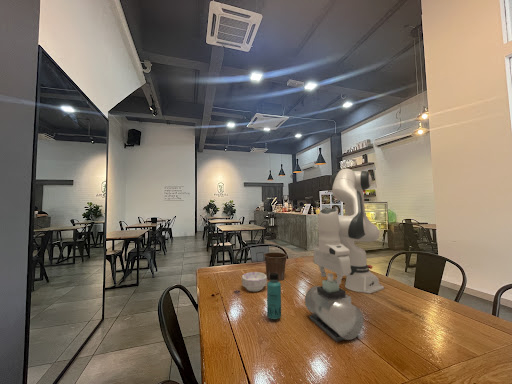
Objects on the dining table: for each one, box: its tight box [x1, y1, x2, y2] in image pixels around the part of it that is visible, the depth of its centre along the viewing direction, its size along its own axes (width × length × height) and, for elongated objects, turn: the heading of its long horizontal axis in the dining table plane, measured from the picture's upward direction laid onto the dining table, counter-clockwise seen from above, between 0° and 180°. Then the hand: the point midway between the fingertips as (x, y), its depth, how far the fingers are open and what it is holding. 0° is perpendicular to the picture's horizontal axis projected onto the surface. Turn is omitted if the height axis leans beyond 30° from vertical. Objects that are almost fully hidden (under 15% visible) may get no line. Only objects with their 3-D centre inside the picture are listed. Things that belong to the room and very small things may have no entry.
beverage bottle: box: [266, 273, 282, 320], centre depth 99 cm, size 6×7×20 cm
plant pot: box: [263, 251, 288, 282], centre depth 154 cm, size 16×16×16 cm
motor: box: [304, 285, 364, 343], centre depth 94 cm, size 12×26×16 cm, turn 19°
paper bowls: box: [241, 271, 268, 292], centre depth 135 cm, size 15×15×8 cm
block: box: [321, 272, 340, 293], centre depth 93 cm, size 5×4×8 cm
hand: (330, 280), depth 93 cm, fingers open, 8 cm apart
